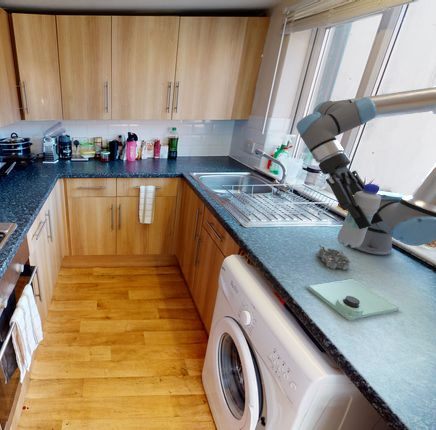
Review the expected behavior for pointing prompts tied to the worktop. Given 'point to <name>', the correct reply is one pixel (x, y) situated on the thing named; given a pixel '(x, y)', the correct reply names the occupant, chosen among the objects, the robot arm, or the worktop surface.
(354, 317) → the scale
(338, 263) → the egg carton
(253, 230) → the worktop surface
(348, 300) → the button
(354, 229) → the bottle
